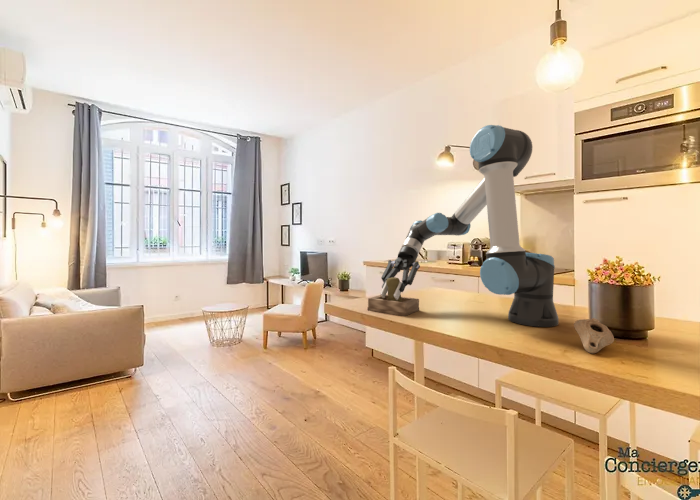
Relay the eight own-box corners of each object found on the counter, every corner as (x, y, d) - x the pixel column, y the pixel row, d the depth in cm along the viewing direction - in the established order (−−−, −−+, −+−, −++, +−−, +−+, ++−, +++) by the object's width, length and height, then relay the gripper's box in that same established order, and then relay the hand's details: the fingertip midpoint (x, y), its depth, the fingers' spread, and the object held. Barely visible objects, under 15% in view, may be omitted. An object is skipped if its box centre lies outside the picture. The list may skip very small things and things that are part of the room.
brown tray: (419, 310, 136) (419, 298, 135) (404, 316, 126) (404, 303, 126) (383, 305, 145) (383, 294, 145) (367, 310, 136) (367, 298, 135)
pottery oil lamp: (568, 350, 90) (569, 323, 89) (575, 339, 99) (576, 315, 98) (610, 358, 84) (611, 329, 84) (614, 346, 93) (615, 320, 93)
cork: (392, 304, 139) (390, 276, 139) (406, 304, 135) (403, 276, 135) (384, 307, 134) (381, 278, 134) (398, 307, 130) (395, 278, 130)
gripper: (432, 258, 141) (413, 305, 129) (393, 256, 152) (372, 299, 140) (427, 245, 137) (407, 293, 125) (387, 244, 148) (364, 288, 135)
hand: (388, 296), depth 132 cm, fingers closed on cork, 5 cm apart
